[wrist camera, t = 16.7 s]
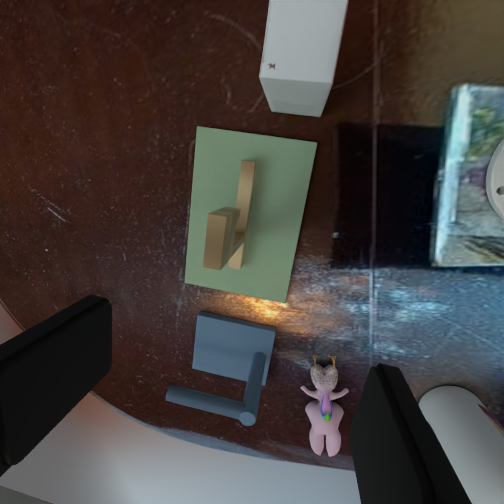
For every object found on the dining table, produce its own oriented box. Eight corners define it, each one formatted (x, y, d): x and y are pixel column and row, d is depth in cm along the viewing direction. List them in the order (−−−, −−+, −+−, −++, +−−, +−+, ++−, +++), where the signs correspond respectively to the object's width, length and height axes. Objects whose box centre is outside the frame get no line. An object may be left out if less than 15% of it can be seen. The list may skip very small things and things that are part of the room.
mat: (198, 126, 32) (197, 126, 31) (317, 143, 30) (317, 142, 30) (185, 281, 37) (184, 282, 37) (285, 302, 36) (285, 303, 35)
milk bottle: (411, 425, 38) (529, 678, 19) (421, 380, 36) (565, 611, 17) (472, 434, 37) (664, 711, 18) (485, 387, 35) (720, 644, 15)
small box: (320, 118, 29) (333, 87, 19) (270, 112, 30) (257, 79, 20) (337, 32, 27) (361, -54, 17) (282, 27, 28) (274, -58, 18)
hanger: (243, 160, 31) (213, 150, 20) (257, 162, 31) (234, 153, 20) (230, 264, 35) (198, 306, 23) (242, 266, 35) (215, 310, 23)
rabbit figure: (300, 348, 39) (302, 443, 40) (300, 370, 33) (303, 481, 34) (345, 349, 38) (345, 448, 39) (354, 372, 32) (354, 487, 33)
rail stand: (200, 310, 38) (163, 362, 27) (276, 327, 37) (268, 387, 26) (194, 363, 41) (159, 428, 30) (266, 380, 39) (255, 454, 29)
